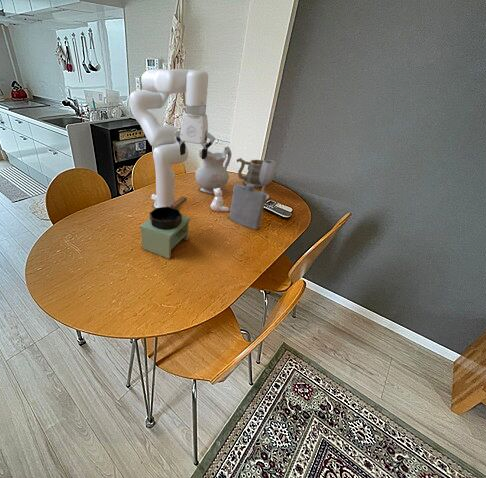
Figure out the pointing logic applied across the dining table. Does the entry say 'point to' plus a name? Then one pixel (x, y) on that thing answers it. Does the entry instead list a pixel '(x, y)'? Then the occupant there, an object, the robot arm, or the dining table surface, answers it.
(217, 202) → the sitting furry creature
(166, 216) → the pan
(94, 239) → the dining table surface
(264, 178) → the wineglass
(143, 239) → the sage green box
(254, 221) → the hip flask
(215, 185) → the ceramic pitcher
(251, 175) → the tankard
